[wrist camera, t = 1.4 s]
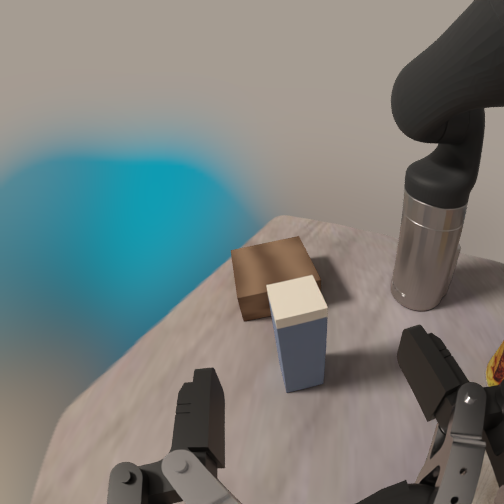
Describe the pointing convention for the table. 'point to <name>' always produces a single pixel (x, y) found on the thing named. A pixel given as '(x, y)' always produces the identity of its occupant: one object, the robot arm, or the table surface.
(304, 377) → the carton
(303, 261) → the display plinth
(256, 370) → the table surface
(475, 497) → the washcloth
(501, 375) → the canned food
